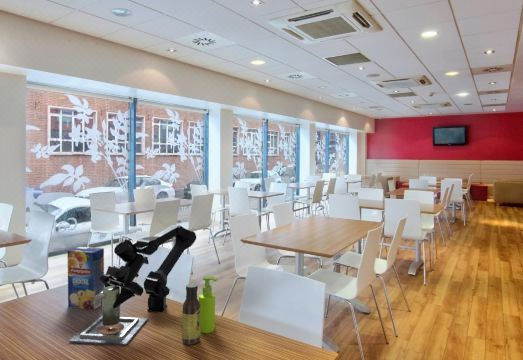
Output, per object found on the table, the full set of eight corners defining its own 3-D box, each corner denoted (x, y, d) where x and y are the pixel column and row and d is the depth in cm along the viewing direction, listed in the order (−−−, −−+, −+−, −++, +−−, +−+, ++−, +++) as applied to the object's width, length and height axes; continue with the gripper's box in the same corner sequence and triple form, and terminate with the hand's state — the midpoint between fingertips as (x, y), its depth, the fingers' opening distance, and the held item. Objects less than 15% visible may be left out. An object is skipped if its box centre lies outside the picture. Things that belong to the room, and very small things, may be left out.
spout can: (112, 316, 141) (112, 284, 140) (123, 320, 138) (123, 287, 137) (94, 325, 135) (94, 291, 134) (105, 329, 132) (105, 294, 131)
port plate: (147, 320, 147) (147, 315, 147) (125, 346, 127) (125, 341, 127) (98, 317, 148) (98, 313, 148) (69, 342, 128) (68, 337, 128)
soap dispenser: (214, 334, 136) (215, 280, 135) (196, 332, 138) (196, 279, 136) (219, 327, 142) (220, 275, 141) (202, 325, 144) (202, 274, 142)
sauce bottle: (200, 344, 129) (201, 288, 128) (182, 346, 128) (182, 289, 126) (199, 335, 135) (200, 281, 134) (181, 337, 134) (182, 282, 132)
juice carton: (104, 302, 162) (104, 248, 161) (93, 309, 155) (93, 252, 153) (79, 300, 165) (79, 246, 163) (68, 307, 157) (67, 250, 156)
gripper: (103, 253, 144) (77, 290, 135) (137, 261, 134) (111, 301, 126) (120, 268, 151) (96, 304, 142) (153, 276, 142) (130, 315, 133)
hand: (107, 305), depth 136 cm, fingers closed on spout can, 6 cm apart
